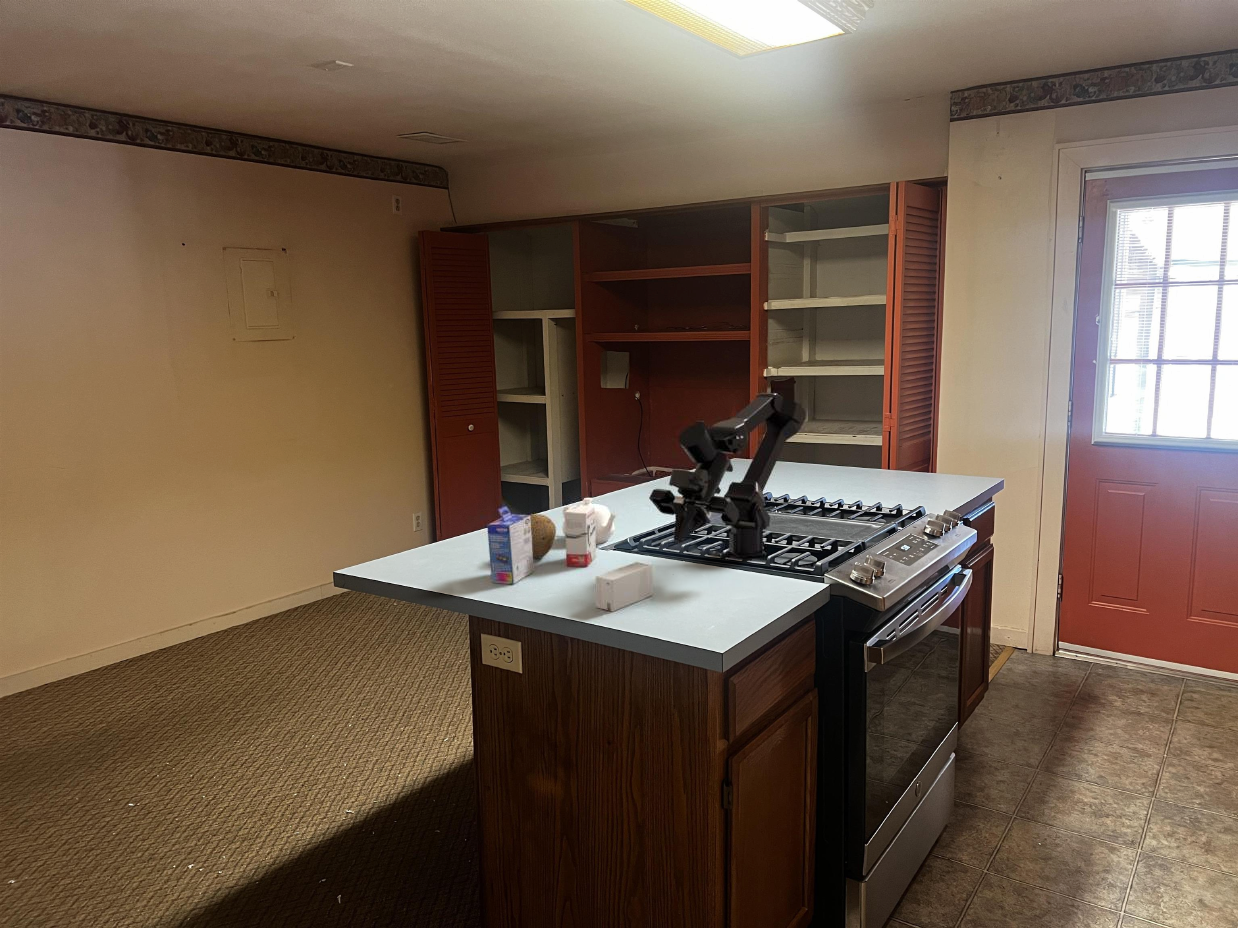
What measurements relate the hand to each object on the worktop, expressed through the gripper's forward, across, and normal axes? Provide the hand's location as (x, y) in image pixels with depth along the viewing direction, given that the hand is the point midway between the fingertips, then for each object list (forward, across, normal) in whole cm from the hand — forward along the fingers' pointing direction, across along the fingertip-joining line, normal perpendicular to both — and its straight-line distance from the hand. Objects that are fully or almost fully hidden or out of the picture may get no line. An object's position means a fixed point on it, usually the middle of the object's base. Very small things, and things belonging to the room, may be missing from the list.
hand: (676, 541), depth 172 cm
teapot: (-4, -37, +17) cm, 41 cm away
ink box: (+6, -26, +6) cm, 27 cm away
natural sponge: (+9, -36, +3) cm, 37 cm away
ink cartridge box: (+18, -29, -7) cm, 35 cm away
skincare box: (+11, 0, -3) cm, 11 cm away
